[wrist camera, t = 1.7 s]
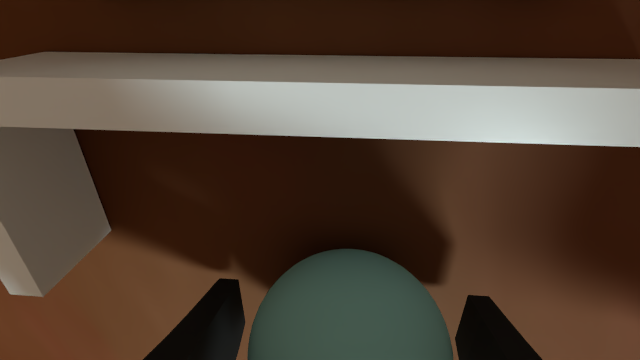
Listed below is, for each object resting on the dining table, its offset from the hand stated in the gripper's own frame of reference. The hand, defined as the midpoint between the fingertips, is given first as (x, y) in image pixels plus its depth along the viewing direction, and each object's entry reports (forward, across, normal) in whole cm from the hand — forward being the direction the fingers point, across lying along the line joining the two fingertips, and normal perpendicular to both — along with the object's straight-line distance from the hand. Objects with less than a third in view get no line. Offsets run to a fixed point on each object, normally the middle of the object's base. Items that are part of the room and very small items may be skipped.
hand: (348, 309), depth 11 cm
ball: (+1, 0, 0) cm, 1 cm away
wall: (+1, +1, -4) cm, 5 cm away
